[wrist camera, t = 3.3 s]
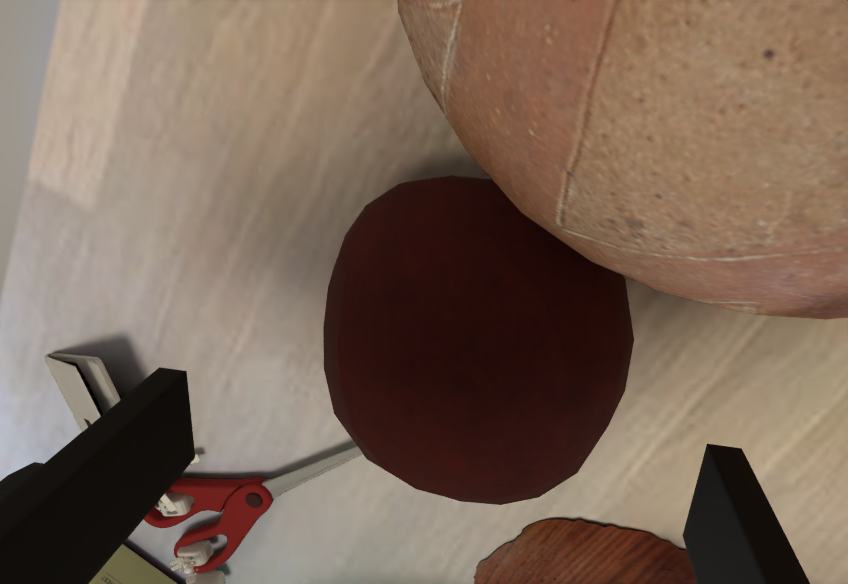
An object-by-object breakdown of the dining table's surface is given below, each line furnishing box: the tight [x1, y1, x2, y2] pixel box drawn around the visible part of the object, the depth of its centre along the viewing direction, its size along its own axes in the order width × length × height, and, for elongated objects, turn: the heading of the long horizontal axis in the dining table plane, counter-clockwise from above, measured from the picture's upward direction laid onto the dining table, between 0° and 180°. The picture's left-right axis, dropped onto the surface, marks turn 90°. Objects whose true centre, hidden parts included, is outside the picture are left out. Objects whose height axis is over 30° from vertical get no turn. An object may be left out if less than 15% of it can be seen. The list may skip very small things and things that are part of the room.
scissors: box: [144, 446, 363, 573], centre depth 30 cm, size 5×14×1 cm, turn 122°
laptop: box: [45, 353, 121, 432], centre depth 30 cm, size 7×6×2 cm
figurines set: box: [158, 454, 226, 584], centre depth 30 cm, size 12×3×3 cm, turn 11°
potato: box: [324, 175, 634, 505], centre depth 21 cm, size 12×11×8 cm
